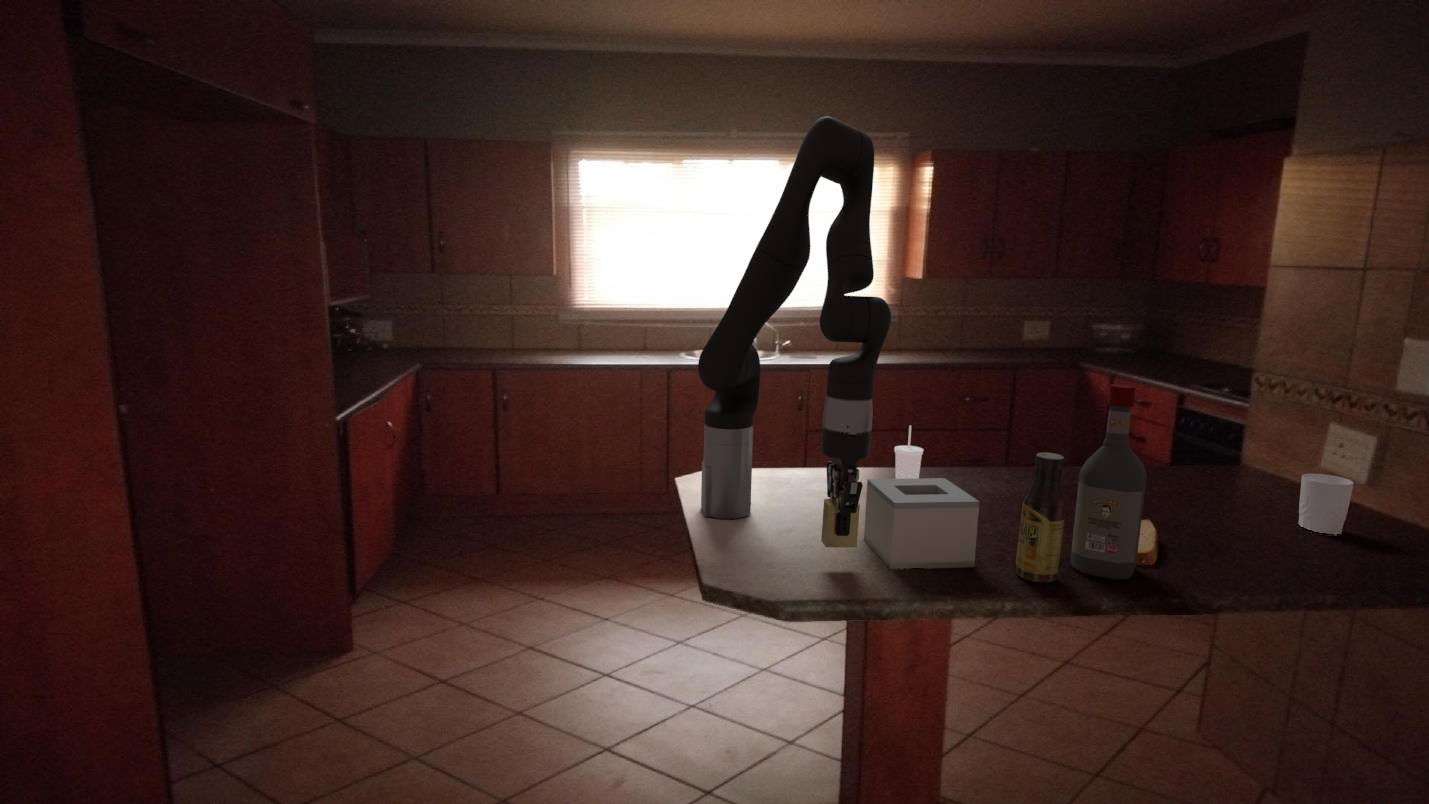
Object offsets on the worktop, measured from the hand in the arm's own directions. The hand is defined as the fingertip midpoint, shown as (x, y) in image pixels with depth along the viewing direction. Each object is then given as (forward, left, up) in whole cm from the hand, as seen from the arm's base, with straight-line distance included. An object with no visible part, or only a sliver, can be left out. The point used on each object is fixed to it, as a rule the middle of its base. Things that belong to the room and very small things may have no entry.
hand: (839, 531), depth 132 cm
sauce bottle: (+30, -7, -6) cm, 32 cm away
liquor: (+43, -4, -6) cm, 44 cm away
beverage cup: (+27, +43, -6) cm, 51 cm away
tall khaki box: (0, 0, -2) cm, 2 cm away
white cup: (+97, +12, -6) cm, 98 cm away
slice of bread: (+55, +7, -7) cm, 56 cm away
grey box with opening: (+15, +5, -6) cm, 17 cm away
